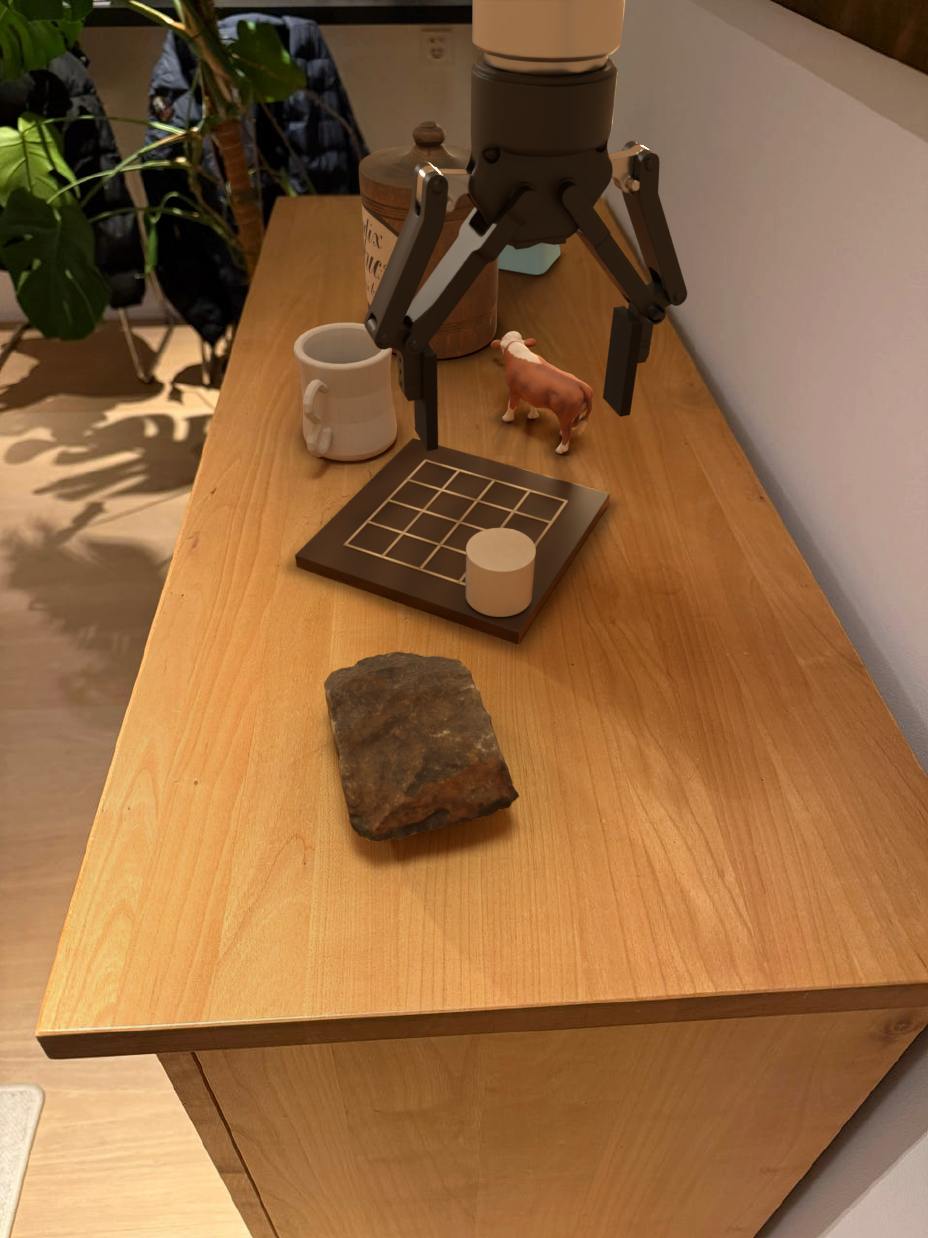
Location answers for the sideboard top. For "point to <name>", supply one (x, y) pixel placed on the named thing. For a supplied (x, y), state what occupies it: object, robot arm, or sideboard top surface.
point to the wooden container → (383, 219)
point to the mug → (345, 392)
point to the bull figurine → (543, 387)
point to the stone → (414, 746)
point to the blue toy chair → (529, 258)
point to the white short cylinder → (499, 572)
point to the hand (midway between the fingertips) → (523, 423)
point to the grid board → (451, 531)
